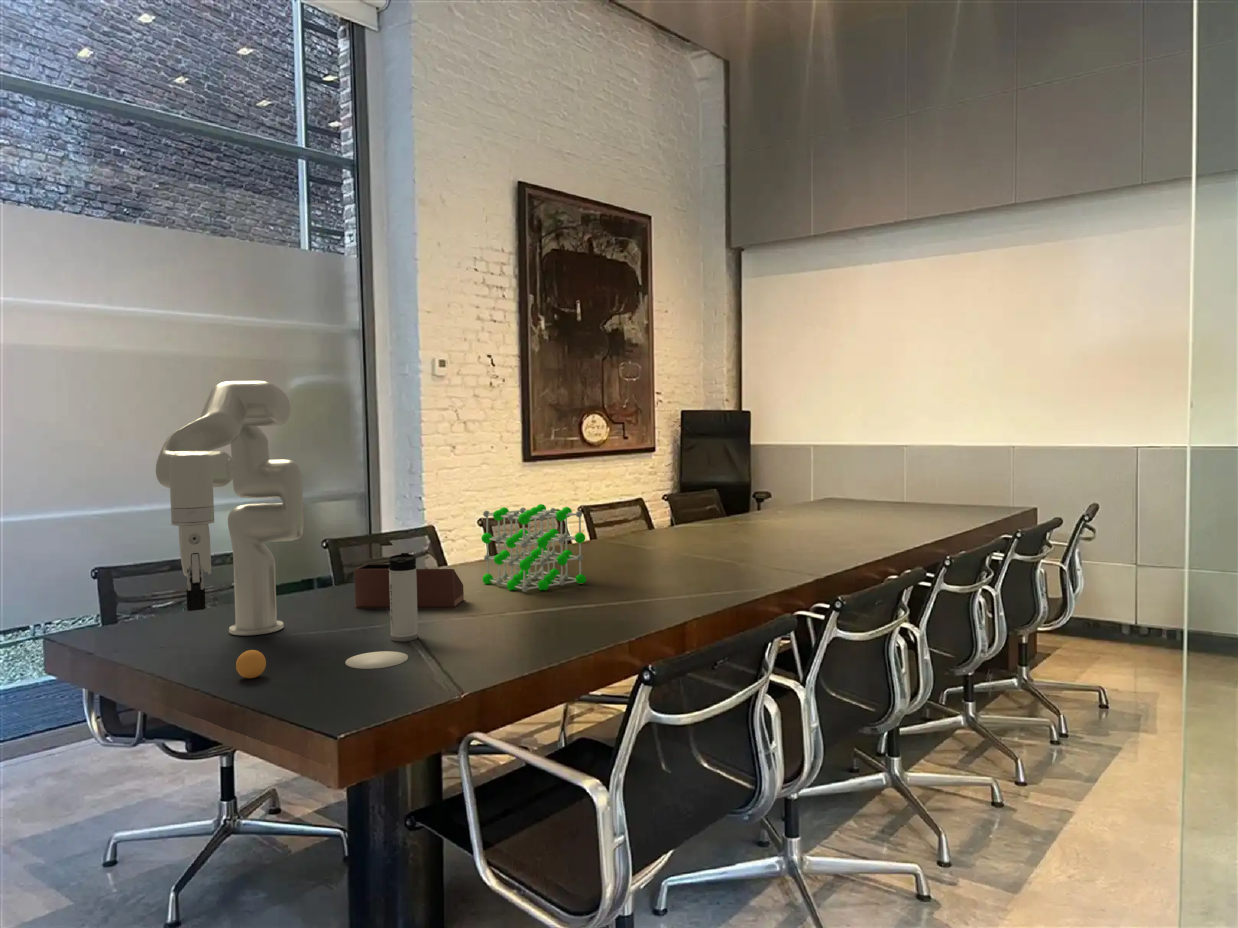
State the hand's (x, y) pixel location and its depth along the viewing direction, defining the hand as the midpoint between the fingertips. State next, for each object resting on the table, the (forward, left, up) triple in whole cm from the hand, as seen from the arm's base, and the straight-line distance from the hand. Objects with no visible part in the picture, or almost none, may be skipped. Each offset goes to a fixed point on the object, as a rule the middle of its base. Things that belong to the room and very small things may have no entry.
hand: (196, 609), depth 168 cm
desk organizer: (-54, +56, -16) cm, 79 cm away
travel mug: (-16, +45, -15) cm, 50 cm away
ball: (0, +10, -12) cm, 16 cm away
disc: (0, +35, -15) cm, 38 cm away
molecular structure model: (-64, +98, -15) cm, 118 cm away
